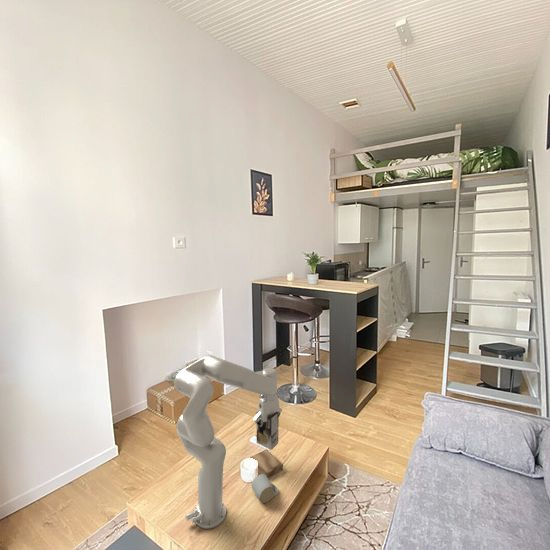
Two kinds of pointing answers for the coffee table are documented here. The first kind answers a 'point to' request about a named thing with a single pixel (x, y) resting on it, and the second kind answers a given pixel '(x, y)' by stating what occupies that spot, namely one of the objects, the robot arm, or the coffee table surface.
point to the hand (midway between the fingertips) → (267, 429)
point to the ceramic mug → (264, 488)
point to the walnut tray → (268, 463)
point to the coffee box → (269, 432)
